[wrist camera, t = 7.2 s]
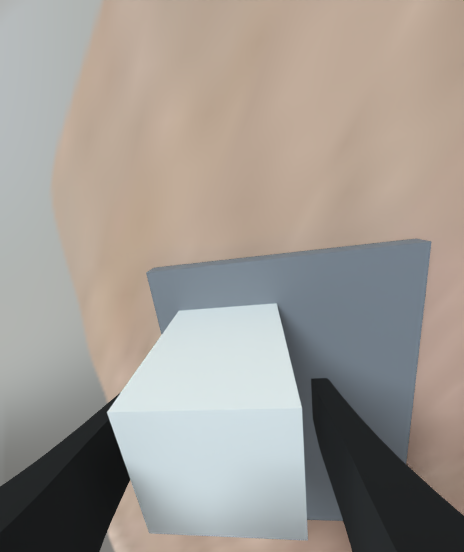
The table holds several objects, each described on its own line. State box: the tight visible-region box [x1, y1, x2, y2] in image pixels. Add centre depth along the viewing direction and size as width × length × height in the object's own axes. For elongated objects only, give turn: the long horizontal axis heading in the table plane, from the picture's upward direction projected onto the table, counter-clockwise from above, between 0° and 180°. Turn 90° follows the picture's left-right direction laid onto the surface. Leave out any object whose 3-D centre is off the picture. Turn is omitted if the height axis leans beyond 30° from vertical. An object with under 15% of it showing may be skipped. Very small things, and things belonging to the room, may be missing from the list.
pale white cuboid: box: [107, 303, 308, 540], centre depth 10 cm, size 5×5×7 cm
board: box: [146, 239, 431, 521], centre depth 15 cm, size 14×20×1 cm
